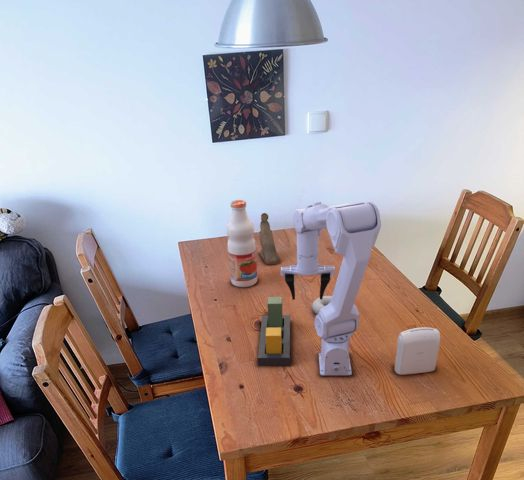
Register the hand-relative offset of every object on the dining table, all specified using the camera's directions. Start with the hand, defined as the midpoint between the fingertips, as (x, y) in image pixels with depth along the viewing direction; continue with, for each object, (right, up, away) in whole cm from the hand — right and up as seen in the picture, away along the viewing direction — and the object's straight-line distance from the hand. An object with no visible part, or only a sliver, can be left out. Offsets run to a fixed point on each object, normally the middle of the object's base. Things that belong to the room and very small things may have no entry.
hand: (307, 297), depth 136 cm
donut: (+8, -3, +13) cm, 16 cm away
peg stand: (-9, -13, 0) cm, 16 cm away
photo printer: (+26, -20, -13) cm, 35 cm away
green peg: (-9, -9, +6) cm, 14 cm away
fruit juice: (-19, +9, +32) cm, 39 cm away
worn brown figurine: (-10, +20, +47) cm, 52 cm away
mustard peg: (-9, -16, -5) cm, 20 cm away
